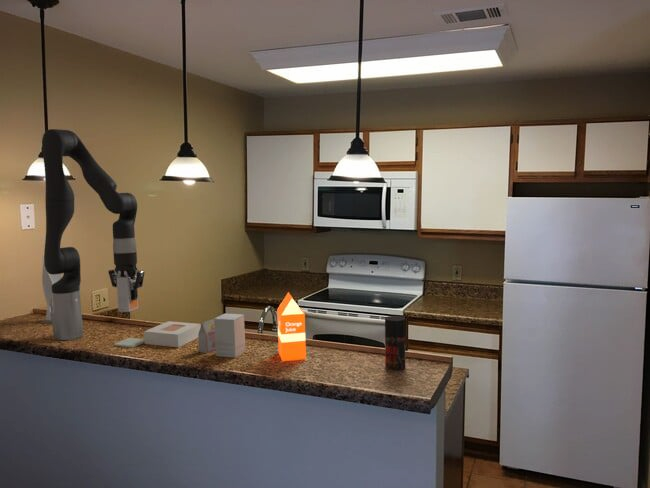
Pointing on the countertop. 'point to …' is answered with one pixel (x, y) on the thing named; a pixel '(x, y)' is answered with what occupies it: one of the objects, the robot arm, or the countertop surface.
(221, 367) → the countertop surface
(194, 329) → the frame
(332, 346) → the countertop surface
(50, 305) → the skyscraper
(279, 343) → the orange juice
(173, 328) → the button
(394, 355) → the deodorant
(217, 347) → the supplement box
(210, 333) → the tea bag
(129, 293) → the skincare box
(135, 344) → the mat
